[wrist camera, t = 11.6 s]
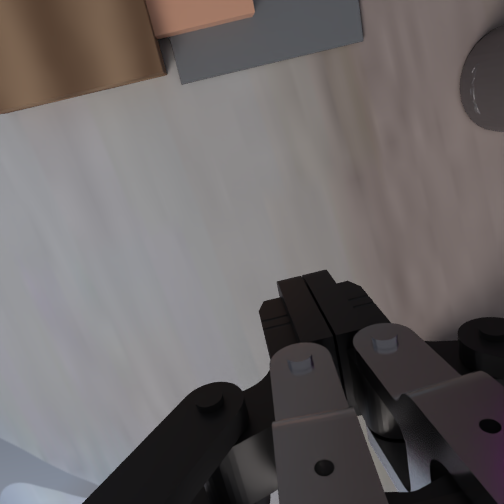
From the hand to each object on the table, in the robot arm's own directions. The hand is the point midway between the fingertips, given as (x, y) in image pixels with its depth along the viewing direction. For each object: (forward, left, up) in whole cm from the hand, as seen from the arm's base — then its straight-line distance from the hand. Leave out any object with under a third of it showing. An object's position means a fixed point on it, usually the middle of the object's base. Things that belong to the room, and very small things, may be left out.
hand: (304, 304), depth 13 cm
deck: (+11, -15, -29) cm, 34 cm away
